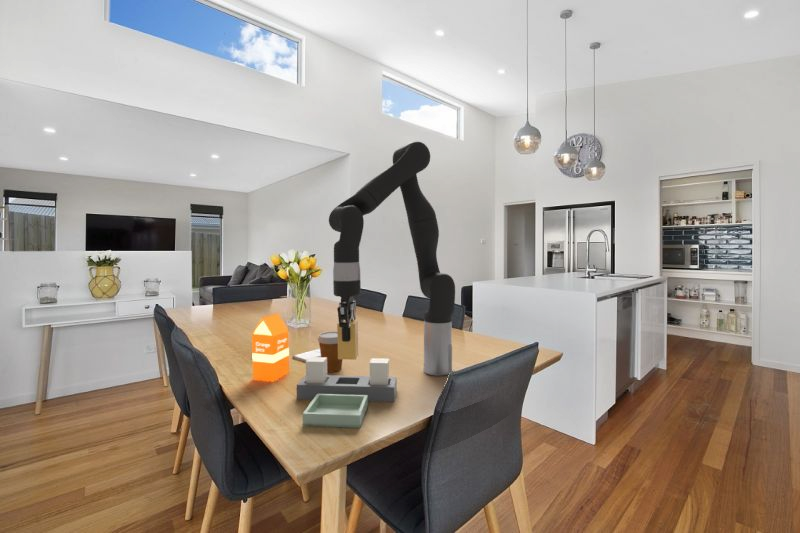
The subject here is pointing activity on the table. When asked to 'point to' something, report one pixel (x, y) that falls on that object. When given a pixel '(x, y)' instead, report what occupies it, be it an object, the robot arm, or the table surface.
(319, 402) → the tray
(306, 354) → the external hard drive
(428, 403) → the table surface
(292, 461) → the table surface
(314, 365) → the fuse
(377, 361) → the fuse
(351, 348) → the tan rectangular block
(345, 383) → the rack
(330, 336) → the disposable coffee cup
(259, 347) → the orange juice
